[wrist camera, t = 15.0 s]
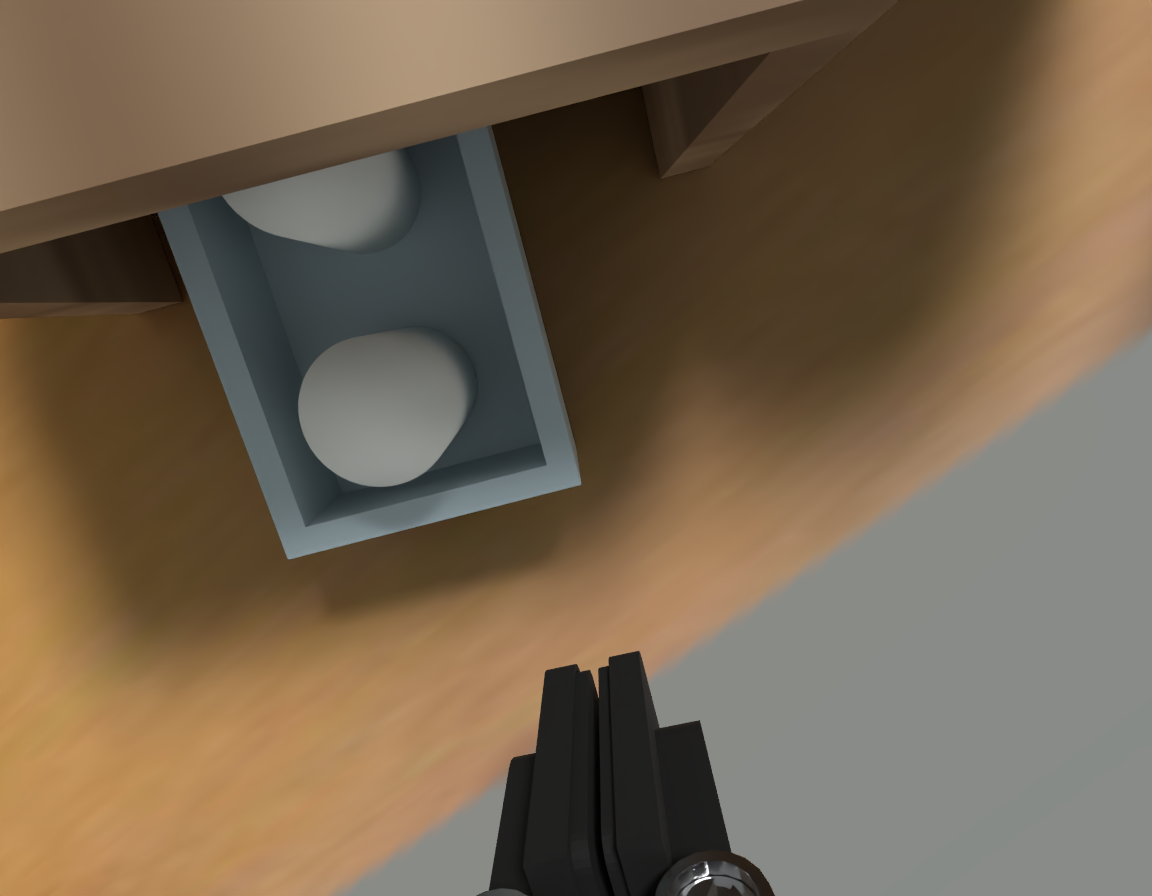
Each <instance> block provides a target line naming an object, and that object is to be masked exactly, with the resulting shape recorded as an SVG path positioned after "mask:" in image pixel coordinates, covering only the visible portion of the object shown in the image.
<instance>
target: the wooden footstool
mask: <svg viewBox="0 0 1152 896" xmlns="http://www.w3.org/2000/svg"><path fill="white" fill-rule="evenodd" d="M898 1H899V0H0V319H3V318H33V317H64V316H94V315H124V314H139V313H143V312H147V311H151V310H154V309H158V308H162V307H166V306H170V305H174V304H178V303H182V302H183V301H182V298H181V295H180V293H179V290H178V287H177V284H176V282H175V279H174V276H173V274H172V271H171V268H170V265H169V263H168V260H167V257H166V255H165V252H164V249H163V247H162V244H161V241H160V238H159V236H158V233H157V230H156V228H155V225H154V222H153V220H152V217H151V214H153V213H157V212H161V211H164V210H168V209H172V208H176V207H180V206H184V205H187V204H191V203H195V202H199V201H203V200H207V199H210V198H214V197H218V196H222V195H226V194H229V193H233V192H237V191H241V190H245V189H249V188H252V187H256V186H260V185H264V184H268V183H272V182H275V181H279V180H283V179H287V178H291V177H295V176H298V175H302V174H306V173H310V172H314V171H317V170H321V169H325V168H329V167H333V166H337V165H340V164H344V163H348V162H352V161H356V160H360V159H363V158H367V157H371V156H375V155H379V154H382V153H386V152H390V151H394V150H398V149H402V148H405V147H409V146H413V145H417V144H421V143H425V142H428V141H432V140H436V139H440V138H444V137H448V136H451V135H455V134H459V133H463V132H467V131H470V130H474V129H478V128H482V127H486V126H490V125H493V124H497V123H501V122H505V121H509V120H513V119H516V118H520V117H524V116H528V115H532V114H535V113H539V112H543V111H547V110H551V109H555V108H558V107H562V106H566V105H570V104H574V103H578V102H581V101H585V100H589V99H593V98H597V97H601V96H604V95H608V94H612V93H616V92H620V91H623V90H627V89H631V88H635V87H639V86H641V87H642V92H643V96H644V101H645V106H646V111H647V116H648V121H649V125H650V130H651V135H652V140H653V145H654V150H655V154H656V159H657V164H658V169H659V174H660V179H662V178H666V177H670V176H674V175H678V174H682V173H686V172H689V171H693V170H697V169H701V168H705V167H709V166H710V165H711V164H712V163H713V162H715V161H716V160H717V159H718V158H719V157H720V156H721V155H723V154H724V153H725V152H726V151H727V150H728V149H729V148H731V147H732V146H733V145H734V144H735V143H736V142H738V141H739V140H740V139H741V138H742V137H743V136H744V135H746V134H747V133H748V132H749V131H750V130H751V129H752V128H754V127H755V126H756V125H757V124H758V123H759V122H760V121H762V120H763V119H764V118H765V117H766V116H767V115H768V114H770V113H771V112H772V111H773V110H774V109H775V108H777V107H778V106H779V105H780V104H781V103H782V102H783V101H785V100H786V99H787V98H788V97H789V96H790V95H791V94H793V93H794V92H795V91H796V90H797V89H798V88H799V87H801V86H802V85H803V84H804V83H805V82H806V81H807V80H809V79H810V78H811V77H812V76H813V75H814V74H816V73H817V72H818V71H819V70H820V69H821V68H822V67H824V66H825V65H826V64H827V63H828V62H829V61H830V60H832V59H833V58H834V57H835V56H836V55H837V54H838V53H840V52H841V51H842V50H843V49H844V48H845V47H846V46H848V45H849V44H850V43H851V42H852V41H853V40H855V39H856V38H857V37H858V36H859V35H860V34H861V33H863V32H864V31H865V30H866V29H867V28H868V27H869V26H871V25H872V24H873V23H874V22H875V21H876V20H877V19H879V18H880V17H881V16H882V15H883V14H884V13H885V12H887V11H888V10H889V9H890V8H891V7H892V6H894V5H895V4H896V3H897V2H898Z"/></svg>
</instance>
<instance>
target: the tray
mask: <svg viewBox="0 0 1152 896" xmlns="http://www.w3.org/2000/svg"><path fill="white" fill-rule="evenodd" d="M157 213H158V215H159V218H160V220H161V223H162V226H163V228H164V231H165V234H166V236H167V239H168V242H169V244H170V247H171V250H172V252H173V255H174V258H175V260H176V263H177V266H178V268H179V271H180V274H181V276H182V279H183V282H184V284H185V287H186V290H187V292H188V295H189V298H190V300H191V303H192V306H193V308H194V311H195V314H196V316H197V319H198V322H199V324H200V327H201V330H202V332H203V335H204V338H205V340H206V343H207V346H208V348H209V351H210V354H211V356H212V359H213V362H214V364H215V367H216V370H217V372H218V375H219V377H220V380H221V383H222V385H223V388H224V391H225V393H226V396H227V399H228V401H229V404H230V407H231V409H232V412H233V415H234V417H235V420H236V423H237V425H238V428H239V431H240V433H241V436H242V439H243V441H244V444H245V447H246V449H247V452H248V455H249V457H250V460H251V463H252V465H253V468H254V471H255V473H256V476H257V479H258V481H259V484H260V487H261V489H262V492H263V495H264V497H265V500H266V503H267V505H268V508H269V511H270V513H271V516H272V519H273V521H274V524H275V526H276V529H277V532H278V534H279V537H280V540H281V542H282V545H283V548H284V550H285V553H286V556H287V558H288V560H289V559H293V558H297V557H301V556H305V555H309V554H313V553H317V552H320V551H324V550H328V549H332V548H336V547H340V546H344V545H348V544H352V543H356V542H360V541H363V540H367V539H371V538H375V537H379V536H383V535H387V534H391V533H395V532H399V531H402V530H406V529H410V528H414V527H418V526H422V525H426V524H430V523H434V522H438V521H442V520H445V519H449V518H453V517H457V516H461V515H465V514H469V513H473V512H477V511H481V510H485V509H488V508H492V507H496V506H500V505H504V504H508V503H512V502H516V501H520V500H524V499H528V498H531V497H535V496H539V495H543V494H547V493H551V492H555V491H559V490H563V489H567V488H571V487H574V486H578V485H581V478H580V471H579V464H578V456H577V449H576V445H575V442H574V438H573V434H572V430H571V426H570V423H569V419H568V415H567V411H566V407H565V404H564V400H563V396H562V392H561V388H560V385H559V381H558V377H557V373H556V369H555V366H554V362H553V358H552V354H551V350H550V347H549V343H548V339H547V335H546V331H545V328H544V324H543V320H542V316H541V312H540V309H539V305H538V301H537V297H536V293H535V290H534V286H533V282H532V278H531V274H530V271H529V267H528V263H527V259H526V255H525V252H524V248H523V244H522V240H521V236H520V233H519V229H518V225H517V221H516V217H515V214H514V210H513V206H512V202H511V198H510V195H509V191H508V187H507V183H506V179H505V176H504V172H503V168H502V164H501V160H500V157H499V153H498V149H497V145H496V141H495V138H494V134H493V130H492V126H491V125H490V126H486V127H482V128H478V129H474V130H470V131H467V132H463V133H459V134H455V135H451V136H448V137H444V138H440V139H436V140H432V141H428V142H425V143H421V144H417V145H413V146H409V147H405V148H402V149H398V150H394V151H390V152H386V153H382V154H379V155H375V156H371V157H367V158H363V159H360V160H356V161H352V162H348V163H344V164H340V165H337V166H333V167H329V168H325V169H321V170H317V171H314V172H310V173H306V174H302V175H298V176H295V177H291V178H287V179H283V180H279V181H275V182H272V183H268V184H264V185H260V186H256V187H252V188H249V189H245V190H241V191H237V192H233V193H229V194H226V195H222V196H218V197H214V198H210V199H207V200H203V201H199V202H195V203H191V204H187V205H184V206H180V207H176V208H172V209H168V210H164V211H161V212H157Z"/></svg>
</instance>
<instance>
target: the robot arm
mask: <svg viewBox="0 0 1152 896" xmlns="http://www.w3.org/2000/svg"><path fill="white" fill-rule="evenodd" d="M598 674H599V698H598V694H597V691H596V687H595V684H594V680H593V677H592V674H591V671H590V670H587V671H582V672H580V670H579V668H578V665H577V664H574V665H569V666H564V667H560V668H555V669H550V670H546V672H545V677H544V686H543V695H542V703H541V712H540V720H539V729H538V738H537V746H536V753H533V754H528V755H523V756H518V757H514V758H513V759H512V760H511V763H510V767H509V772H508V778H507V784H506V790H505V797H504V802H503V809H502V815H501V821H500V827H499V833H498V839H497V846H496V851H495V857H494V863H493V869H492V875H491V881H490V887H489V891H485V892H483V893H481V894H479V895H477V896H775V895H774V893H773V891H772V888H771V886H770V884H769V882H768V881H767V879H766V878H765V877H764V875H763V874H762V872H761V871H760V869H759V868H758V867H756V866H755V865H754V864H752V863H751V862H750V861H749V860H747V859H746V858H744V857H741V856H739V855H736V854H734V853H731V849H730V845H729V841H728V836H727V832H726V828H725V824H724V820H723V815H722V812H721V807H720V803H719V799H718V794H717V790H716V786H715V782H714V778H713V774H712V769H711V765H710V761H709V757H708V753H707V749H706V744H705V741H704V736H703V732H702V728H701V724H700V720H699V721H694V722H689V723H684V724H679V725H674V726H669V727H664V728H659V724H658V720H657V716H656V712H655V708H654V705H653V700H652V696H651V693H650V689H649V685H648V681H647V677H646V673H645V669H644V665H643V661H642V658H641V654H640V652H639V651H636V652H631V653H626V654H622V655H617V656H612V657H609V666H606V667H601V668H599V670H598Z"/></svg>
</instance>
